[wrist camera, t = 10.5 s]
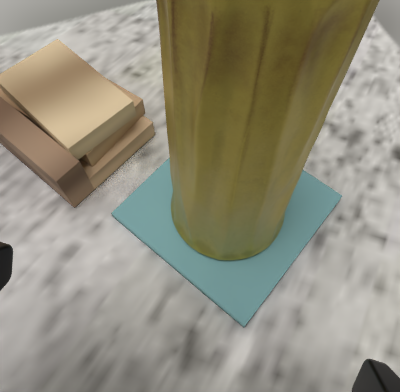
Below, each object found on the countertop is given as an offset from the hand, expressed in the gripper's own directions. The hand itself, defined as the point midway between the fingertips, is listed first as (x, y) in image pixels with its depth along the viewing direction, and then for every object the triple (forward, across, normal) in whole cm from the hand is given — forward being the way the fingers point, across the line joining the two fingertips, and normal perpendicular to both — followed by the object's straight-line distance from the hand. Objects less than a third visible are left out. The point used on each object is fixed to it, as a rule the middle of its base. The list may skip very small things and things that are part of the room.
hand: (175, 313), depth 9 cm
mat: (+12, 0, +1) cm, 12 cm away
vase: (+12, 0, +1) cm, 12 cm away
